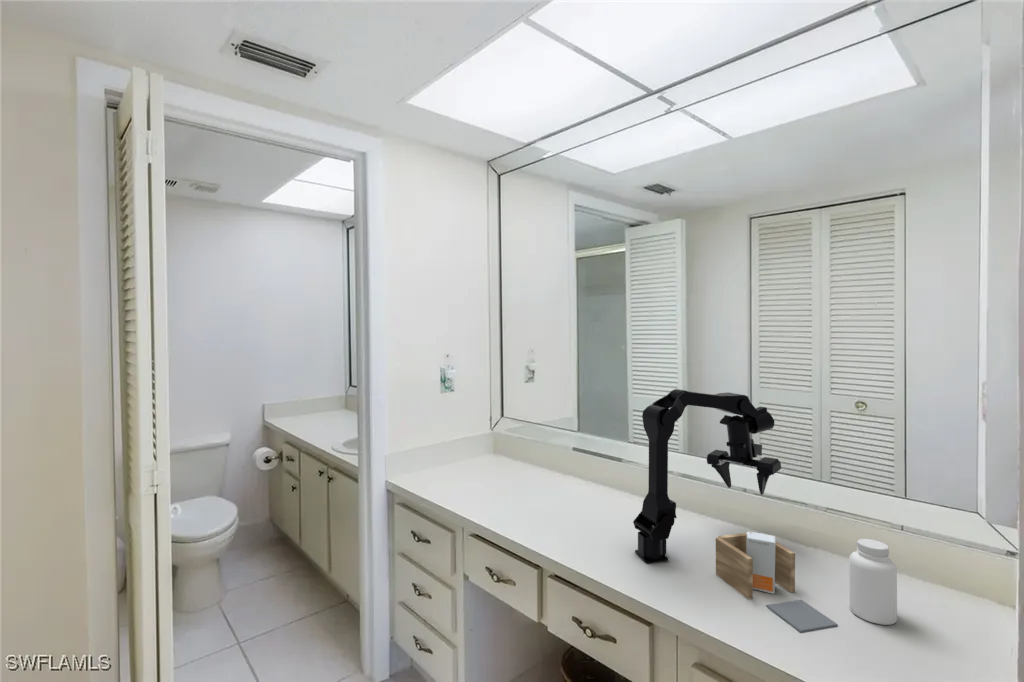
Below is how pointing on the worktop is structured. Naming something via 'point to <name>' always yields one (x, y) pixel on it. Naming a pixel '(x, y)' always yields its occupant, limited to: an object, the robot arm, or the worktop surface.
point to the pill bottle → (873, 583)
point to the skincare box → (762, 560)
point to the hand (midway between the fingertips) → (745, 490)
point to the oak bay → (750, 564)
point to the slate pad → (801, 615)
